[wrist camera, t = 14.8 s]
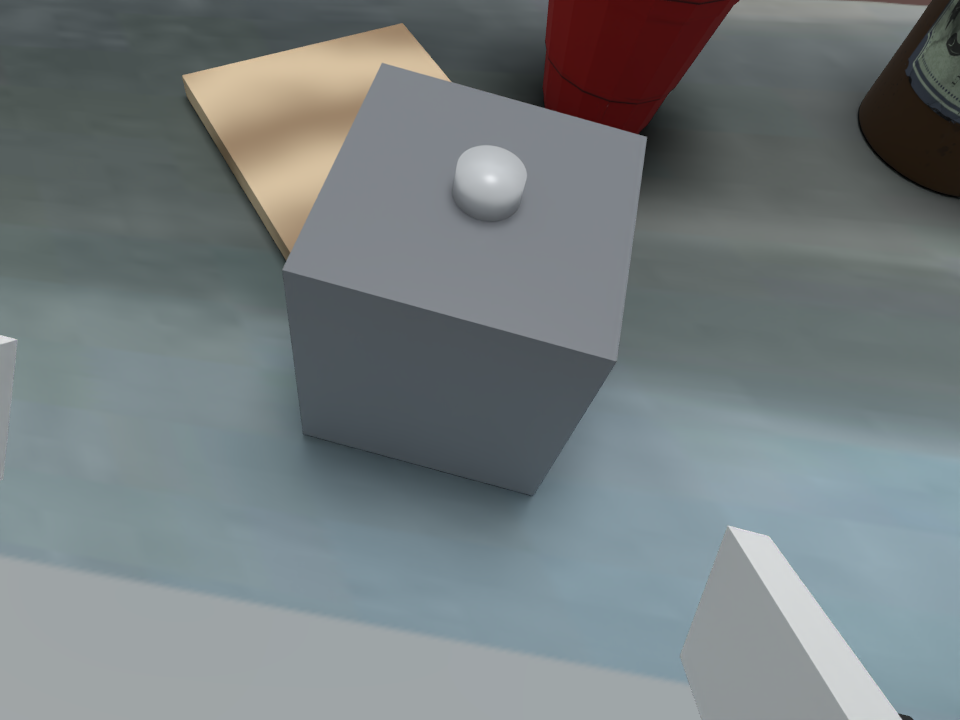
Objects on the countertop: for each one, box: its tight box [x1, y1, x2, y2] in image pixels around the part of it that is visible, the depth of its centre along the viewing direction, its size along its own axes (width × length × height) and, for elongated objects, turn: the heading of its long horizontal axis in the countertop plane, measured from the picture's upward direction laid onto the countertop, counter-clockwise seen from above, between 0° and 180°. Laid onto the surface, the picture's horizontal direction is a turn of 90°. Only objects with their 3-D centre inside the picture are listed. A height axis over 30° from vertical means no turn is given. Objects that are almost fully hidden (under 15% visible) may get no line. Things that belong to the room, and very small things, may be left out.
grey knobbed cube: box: [282, 63, 647, 496], centre depth 25 cm, size 9×9×11 cm
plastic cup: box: [543, 0, 739, 134], centre depth 34 cm, size 11×11×12 cm
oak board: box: [182, 23, 451, 261], centre depth 35 cm, size 12×12×1 cm
